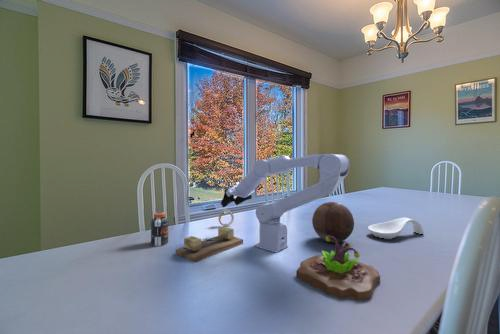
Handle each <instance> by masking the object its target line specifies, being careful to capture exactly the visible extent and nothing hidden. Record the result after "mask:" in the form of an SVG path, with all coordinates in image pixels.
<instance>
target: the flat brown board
mask: <svg viewBox="0 0 500 334" xmlns="http://www.w3.org/2000/svg"><path fill="white" fill-rule="evenodd" d="M243 244H244V239H243V238H239V237H236V236H234V237H233V238H230V239H225V238H222V237H219V236H218V235H217V236H213V237H211V238H206V239H204V240H202V238H199V237H196V236H193V235H190V236H187V237H184V238H183V246H182V247H178V248H176V249H175V255H177V256H180V257H181V258H184V259H186V260H188V261H192V262H194V263H197V262H199V261H202V260H205V259H207V258H210V257H212V256H214V255H215V256H216V255H218V254H219V253H222V252H225V251H227V250H230V249H233V248H235V247H238V246H240V245H243Z"/></svg>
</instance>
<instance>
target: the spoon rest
mask: <svg viewBox="0 0 500 334" xmlns="http://www.w3.org/2000/svg"><path fill="white" fill-rule="evenodd" d="M408 223H411V224H412V232H413V231H414V232H417V233H420V234H425V233H424V229H423V227H422V225H421V223H420V222H419V221H418V220H415V219H412V218H408V217H399V218H395V219H391V220H388V221H385V222H378V223H374V224H369V225H368V226H367V229H368V231H369V233H371V235H373V236H375V238H378V237H379V239H381V238H384V239H383V240H393V239H392V238H394V239H395V238H397V237H398V236H399V235H400V234H401V232H402V231H403V230H404V228H405V226H406V225H407V224H408ZM414 232H413V233H414Z"/></svg>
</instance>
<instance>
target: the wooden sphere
mask: <svg viewBox="0 0 500 334" xmlns="http://www.w3.org/2000/svg"><path fill="white" fill-rule="evenodd" d="M311 221H312V222H311V224H312V227H313V230H314V232H315V234H317V236H318V237H319V238H320V239H322V240H324V241H326V239H325V238H326V237H327V236H333V237H335V238H336V240H337V242H338V243H340V242H344V241H346V240H347V239H348V238H349V237H350V236H351V234H352V233H353V231H354V226H355V219H354V216H353V213H352V212H351V210H350V209H349V207H347V206H346V205H344V204H342V203H339V202H335V201H327V202H325V203H322V204H321V205H319V206H318V207H317V208H315V210H314V212H313V215H312V218H311ZM326 242H327V241H326ZM328 243H335V241H334V239H331V241H329V242H328Z"/></svg>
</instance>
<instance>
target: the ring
mask: <svg viewBox="0 0 500 334" xmlns="http://www.w3.org/2000/svg"><path fill="white" fill-rule="evenodd" d="M227 213H228V214H229V215H230V217H231V220H230V222H229V223H225V224H224V223H223V222H222V221H221V218H222V216H223V215H225V214H227ZM234 217H235V216H234V214H233V212H232V211H231V210H230V209H229V208H228V209H227V208H224V209H222V210H221V211H220V212H219V215H218V222H219V224H220V225H221V226H222V227H226V226H227V227H228V226H230V225H232V223H233V222H234Z"/></svg>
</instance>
